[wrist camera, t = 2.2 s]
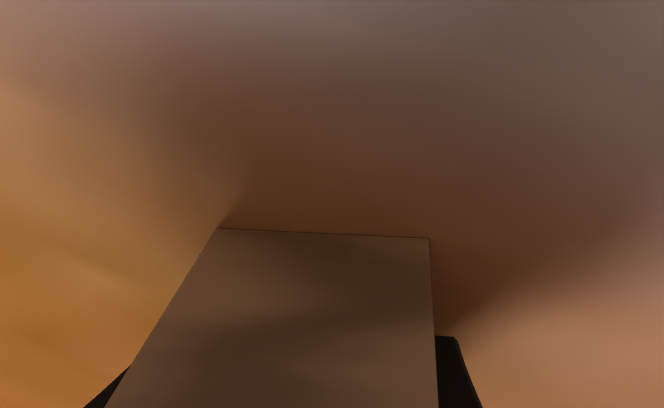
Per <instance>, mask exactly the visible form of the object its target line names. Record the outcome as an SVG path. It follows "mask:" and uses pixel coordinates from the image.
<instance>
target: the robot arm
mask: <svg viewBox="0 0 664 408" xmlns="http://www.w3.org/2000/svg"><path fill="white" fill-rule="evenodd" d="M434 338H435V356H436V373H437V390H438V408H483V407H482V405H481V402H480V400H479V398H478V396H477V393H476V391H475V388H474V386H473V384H472V381H471V379H470V376H469V374H468V371H467V368H466V366H465V363H464V360H463V357H462V354H461V351H460V347H459V344H458V341H457V340H456V339H455V338H454V337H447V336H435V335H434ZM130 366H131V365H130ZM130 366H129V367H130ZM129 367H128V368H127V369H126V370H125V371H124V372H123V373H121V374H120V375H119V376H118V377H117V378H116V379H115V380H114V381H113V382H112V383H111V384H110V385H108V386H107V387H106V388H105V389H104V390H103V391H102V392H101V393H100V394H99V395H97V396H96V397H95V398H94V399H93V400H92V401H90V402H89V403H88V404H87V405H86V406H85V407H83V408H104V407H105V406H106V404H107V402H108V401H109V399H110V398H111V396H112V394H113V393H114V391H115V390H116V388H117V386H118V385H119V383H120V382H121V380H122V378H123V377H124V375H125V374H126V372H127V370H128V369H129Z"/></svg>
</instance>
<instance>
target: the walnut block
mask: <svg viewBox="0 0 664 408" xmlns="http://www.w3.org/2000/svg"><path fill="white" fill-rule="evenodd" d="M104 408H438V390H437V373H436V356H435V338H434V321H433V304H432V287H431V269H430V252H429V239H426V238H405V237H385V236H364V235H343V234H322V233H302V232H281V231H260V230H240V229H219V228H216V230H215V231H214V233H213V235H212V236H211V238H210V239H209V241H208V243H207V244H206V246H205V247H204V249H203V251H202V252H201V254H200V255H199V257H198V259H197V260H196V262H195V263H194V265H193V267H192V268H191V270H190V271H189V273H188V275H187V276H186V278H185V279H184V281H183V283H182V284H181V286H180V287H179V289H178V291H177V292H176V294H175V295H174V297H173V299H172V300H171V302H170V303H169V305H168V307H167V308H166V310H165V311H164V313H163V315H162V316H161V318H160V319H159V321H158V323H157V324H156V326H155V327H154V329H153V330H152V332H151V334H150V335H149V337H148V338H147V340H146V342H145V343H144V345H143V346H142V348H141V350H140V351H139V353H138V354H137V356H136V358H135V359H134V361H133V362H132V364H131V366H130V367H129V369H128V370H127V372H126V374H125V375H124V377H123V378H122V380H121V382H120V383H119V385H118V386H117V388H116V390H115V391H114V393H113V394H112V396H111V398H110V399H109V401H108V402H107V404H106V406H105V407H104Z"/></svg>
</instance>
